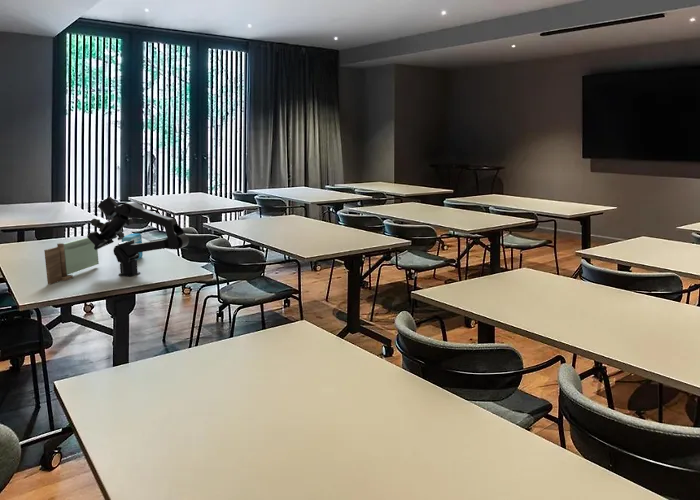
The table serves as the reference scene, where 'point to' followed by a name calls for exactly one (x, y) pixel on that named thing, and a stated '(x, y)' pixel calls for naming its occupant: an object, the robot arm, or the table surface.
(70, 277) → the brown piece
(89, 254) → the sage green panel
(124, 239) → the data package
